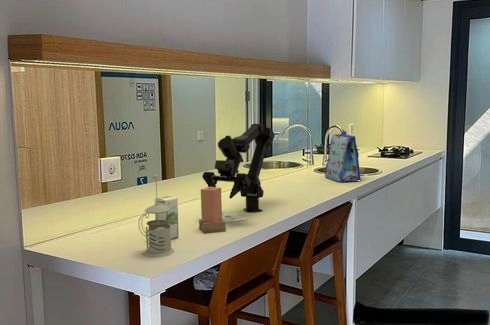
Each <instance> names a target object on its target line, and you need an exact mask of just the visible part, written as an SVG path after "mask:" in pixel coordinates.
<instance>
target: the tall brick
mask: <svg viewBox="0 0 490 325" xmlns="http://www.w3.org/2000/svg"><path fill="white" fill-rule="evenodd" d="M200 204H201V205H200V208H201V219H202V222H212V223H215V222H218V221H220V220H222V215H223V213H222V212H223V210H222V209H223V208H222V206H223V205H222V187H217V186H216V187H208V186H207V187H204V188H201V189H200Z"/></svg>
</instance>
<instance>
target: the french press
mask: <svg viewBox="0 0 490 325" xmlns="http://www.w3.org/2000/svg"><path fill="white" fill-rule="evenodd" d="M152 178H153V179H155V187H156V188H155V190H156V191H155V195H156V197H158V189H157V188H158V185H157V179H159V178H160V176H159V175H158V174H154V175H152ZM169 211H170V208H168V207H167V206H164V205H159V204H156V205H155V204H152V205H150V206H148V207H146V209H144V212H145V213H143V214H142V215H141V216H140V217H139V219H138V225H140V220H141V227H142V230H143V232H144V233H145V234H144V233H143V232H142V230H141V227H140V226H138V230H139V232H140V233H141V234H142V235H143V236H144V237H146V238H145V239H146V240H145V241H146V250H144V252H143V255H145V256H147V257H151V258H153V257H154V258H157V257H158V258H159V257H166V256H171V255H172V254H174V253H175V252H176V251H175V250H174V248H172V239H171V231H170V225H167V224H169V221H167V220H160V219H159V220H155V219H153V220H149V221H147V222H146V225H147V226H145V229H144V226H143V219H144V217H145V218H146V219H149V217H150V214H153V215H155V214H157V219H158V214H161V213H167V212H169ZM147 215H148V216H147ZM160 227H163V228H166V229H160V230H156V229H157V228H160ZM163 236H164V237H163ZM156 237H159V238H156Z"/></svg>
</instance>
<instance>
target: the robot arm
mask: <svg viewBox="0 0 490 325" xmlns="http://www.w3.org/2000/svg"><path fill="white" fill-rule="evenodd" d="M275 135H276V134H275V132H274V131H273V130H272V129H271V128H270V127H267V126H265V125H264V124H262V123H251V125H250V126H249V128H247V130H245V131H244V132H243V133H242V134H241V135H238V136H235V137H233V138H232V136H231V135H225V137H223V138H221V139H219V141H218V143H217V147H218V148H219V151H220V152H221V154H222V155H223V156H224V157H225V158H226V159H225V160H222V159H221V160H220V159H219V160H218V159H217V160H215V163H214V169H215V170H217V173H218V174H219V175H216V174H215V172H214V171H204V172H203V174H202V176H201V177H202V179H203V180H204V182H205V183H206V185H207V187H217V184H218V182H226V183H227V182H228V183H233V184H232V185H233V186H232V188H231V190H230V193H229V197H228V198H229V199H230V200H231V199H232V198H233V197H235V196H236V195H237V194H239V193H240V196H241V198H245V207H244V208H243V211H244V212H246V213H256V212H262V211H263V209H261V208H260V198H263V197H264V189H263V187H262V186H261V184H262V183H261V180H260V174H261V170H262V168H263V167H262V166H263V163H264V159H265V156H266V152H267V149H268V148H269V147H270V146H271V145H272V144H273V141H274V140H275ZM253 141H254V142H255V149H254V152H253V155H252V157H251V158H252V159H251V162H250V165H249V170H248V171H247V172H248V173H244V172H243V173H242V172H240V171H239V167H240V164H241V163H244V158H243V156H242V154H243V153H244V154H245V153H247V152H248V151H249V150H250V146H251V145H250V144H252V142H253Z"/></svg>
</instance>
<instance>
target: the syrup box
mask: <svg viewBox="0 0 490 325" xmlns="http://www.w3.org/2000/svg"><path fill="white" fill-rule="evenodd" d="M178 200H179V199H178V198H177V197H175V196H171V195H166V196H162V197H161V196H160V197H156V198H154V205H156V204H159V205H164V206H167V207H168V208H170V211H169V212H167V213H161V214H158V219H157V214H154V216H155V217H154V218H155V219H154V220H159V219H160V220H167V221H169V224H167V225H170V231H171V240H174V239H178V238H179V207H178V206H179V205H178V204H179V202H178ZM160 229H166V228H163V227H160V228H157V229H155V230H160ZM163 237H164V236H163ZM155 238H159V237H155Z"/></svg>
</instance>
